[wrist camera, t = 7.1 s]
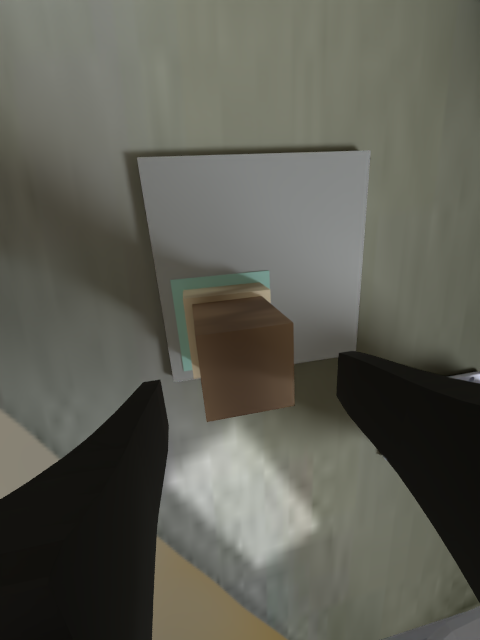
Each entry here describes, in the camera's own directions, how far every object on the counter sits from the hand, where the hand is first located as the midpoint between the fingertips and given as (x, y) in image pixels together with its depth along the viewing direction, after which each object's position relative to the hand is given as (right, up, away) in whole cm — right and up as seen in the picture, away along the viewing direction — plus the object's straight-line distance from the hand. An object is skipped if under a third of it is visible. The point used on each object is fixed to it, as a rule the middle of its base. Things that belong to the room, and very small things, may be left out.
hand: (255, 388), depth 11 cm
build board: (+1, +6, +8) cm, 10 cm away
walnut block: (-1, +2, +5) cm, 6 cm away
